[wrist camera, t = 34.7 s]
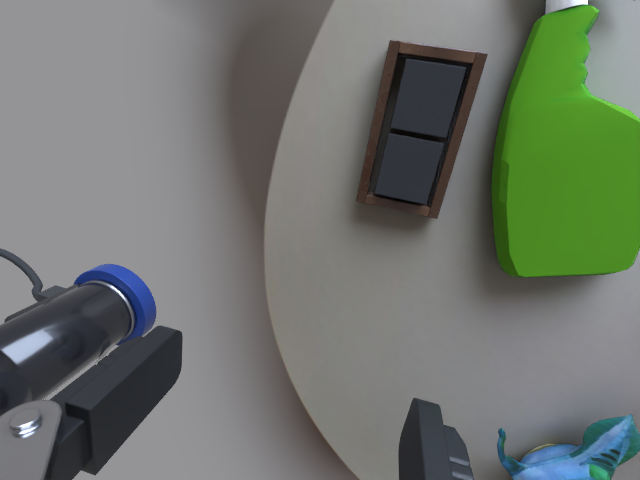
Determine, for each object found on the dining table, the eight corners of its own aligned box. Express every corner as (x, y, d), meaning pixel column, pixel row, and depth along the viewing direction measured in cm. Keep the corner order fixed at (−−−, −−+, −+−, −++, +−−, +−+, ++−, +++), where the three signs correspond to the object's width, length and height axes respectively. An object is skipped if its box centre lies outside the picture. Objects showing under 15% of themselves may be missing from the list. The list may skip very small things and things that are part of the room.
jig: (357, 197, 31) (355, 201, 29) (390, 45, 27) (390, 39, 25) (434, 214, 30) (437, 218, 28) (482, 58, 26) (488, 53, 24)
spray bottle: (487, 269, 31) (485, -43, 24) (628, 262, 28) (670, -92, 21) (496, 282, 28) (497, -67, 21) (654, 276, 25) (710, -126, 18)
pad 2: (376, 188, 30) (374, 193, 28) (389, 132, 29) (388, 133, 26) (423, 198, 30) (426, 204, 27) (440, 142, 28) (444, 143, 26)
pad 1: (390, 128, 29) (389, 128, 26) (405, 64, 27) (406, 58, 24) (441, 137, 28) (446, 138, 26) (460, 73, 26) (466, 67, 24)
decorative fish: (637, 488, 34) (683, 557, 29) (510, 494, 38) (529, 556, 33) (615, 388, 32) (662, 443, 26) (481, 406, 35) (496, 457, 30)
